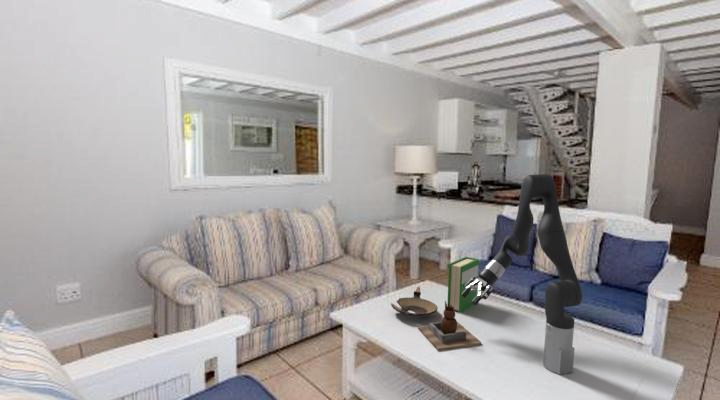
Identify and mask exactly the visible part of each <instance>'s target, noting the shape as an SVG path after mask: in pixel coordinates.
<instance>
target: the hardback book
mask: <svg viewBox="0 0 720 400" xmlns="http://www.w3.org/2000/svg"><path fill="white" fill-rule="evenodd" d="M479 263H480V261H479V258H473V257H469V256H464V257H462V258H459V259H457V260H454V261H453V262H450V263H448V280H447V281H448V284H447V303H446V304H447V307H448V303H450V306H451V305H452V307H454V311H458V313H459V314H462V313H464V312H465V311H467V310H468V309H470V308H471V307H473V306H474V304H473V303H472V300H473V299H474V298H475V297H476V296H478V290H472V291H470V293H469V294H468V295H467V296H466V297H465V298H464V297H463V296H462V295H461V294H462V292H463V291H464V290H465V289H466V286H465V284H466V283H467V282H468V281H469V280H470V279H471V278H472V277H473V276H474V277H475V278H476V279H477V278H478V277H479ZM468 285H470V283H469V284H468ZM473 286H474V285H473Z"/></svg>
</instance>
